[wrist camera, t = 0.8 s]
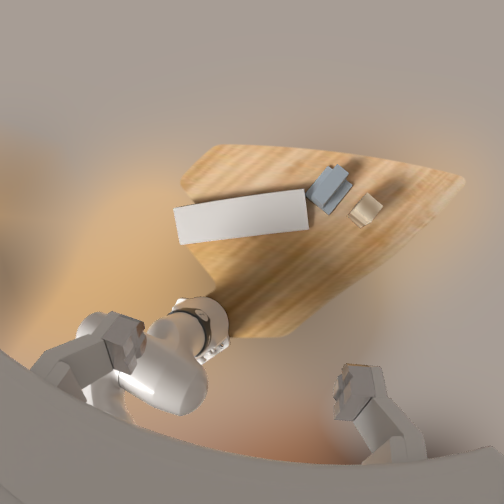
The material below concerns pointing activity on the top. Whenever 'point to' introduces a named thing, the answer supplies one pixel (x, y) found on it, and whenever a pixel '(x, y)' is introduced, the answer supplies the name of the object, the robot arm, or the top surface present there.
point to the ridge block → (329, 188)
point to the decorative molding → (242, 216)
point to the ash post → (365, 211)
